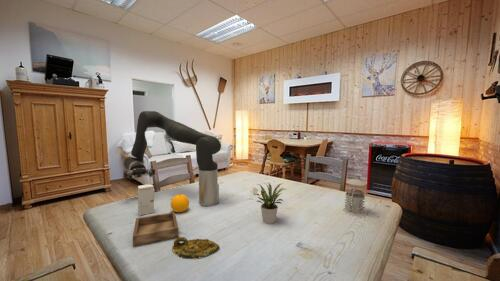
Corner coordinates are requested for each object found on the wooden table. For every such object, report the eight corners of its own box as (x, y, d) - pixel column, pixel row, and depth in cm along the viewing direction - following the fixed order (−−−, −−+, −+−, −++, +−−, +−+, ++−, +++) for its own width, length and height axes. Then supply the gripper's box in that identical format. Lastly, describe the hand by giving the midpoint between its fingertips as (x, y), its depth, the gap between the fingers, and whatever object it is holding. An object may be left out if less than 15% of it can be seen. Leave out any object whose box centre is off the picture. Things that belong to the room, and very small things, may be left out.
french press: (368, 211, 97) (372, 158, 94) (361, 220, 88) (365, 161, 86) (346, 205, 103) (349, 155, 101) (337, 213, 95) (340, 158, 92)
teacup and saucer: (266, 194, 119) (266, 187, 119) (259, 198, 112) (259, 191, 112) (252, 191, 124) (253, 184, 123) (245, 195, 117) (245, 188, 117)
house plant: (291, 216, 92) (292, 179, 90) (286, 231, 79) (287, 189, 77) (260, 211, 96) (260, 176, 95) (250, 225, 83) (251, 185, 82)
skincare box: (139, 215, 90) (138, 188, 89) (138, 212, 94) (137, 185, 93) (154, 212, 94) (153, 186, 93) (153, 208, 98) (152, 183, 96)
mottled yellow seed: (219, 243, 73) (175, 246, 71) (219, 230, 73) (175, 231, 71) (219, 258, 64) (167, 261, 62) (219, 242, 64) (167, 245, 62)
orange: (167, 212, 94) (166, 196, 93) (179, 206, 101) (178, 190, 101) (181, 215, 91) (181, 198, 90) (192, 208, 98) (192, 193, 98)
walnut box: (174, 220, 87) (174, 211, 86) (178, 237, 74) (178, 227, 74) (136, 227, 81) (136, 218, 81) (133, 246, 68) (132, 236, 68)
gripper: (121, 163, 111) (123, 170, 98) (151, 161, 119) (156, 166, 106) (122, 177, 112) (124, 185, 98) (151, 174, 120) (157, 181, 106)
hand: (141, 176), depth 102 cm, fingers open, 8 cm apart
